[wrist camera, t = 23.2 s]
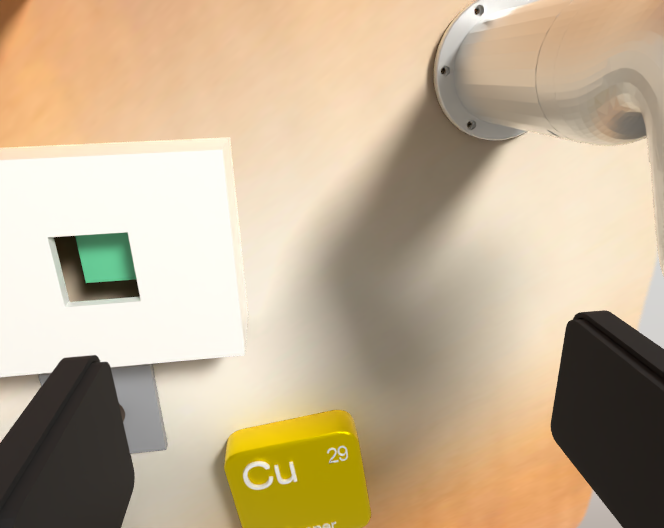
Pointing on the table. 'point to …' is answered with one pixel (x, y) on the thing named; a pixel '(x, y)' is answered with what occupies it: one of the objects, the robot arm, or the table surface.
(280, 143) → the table surface
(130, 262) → the breaker button
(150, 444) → the rubber mat
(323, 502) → the element tile
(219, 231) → the box
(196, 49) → the table surface
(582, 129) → the robot arm
